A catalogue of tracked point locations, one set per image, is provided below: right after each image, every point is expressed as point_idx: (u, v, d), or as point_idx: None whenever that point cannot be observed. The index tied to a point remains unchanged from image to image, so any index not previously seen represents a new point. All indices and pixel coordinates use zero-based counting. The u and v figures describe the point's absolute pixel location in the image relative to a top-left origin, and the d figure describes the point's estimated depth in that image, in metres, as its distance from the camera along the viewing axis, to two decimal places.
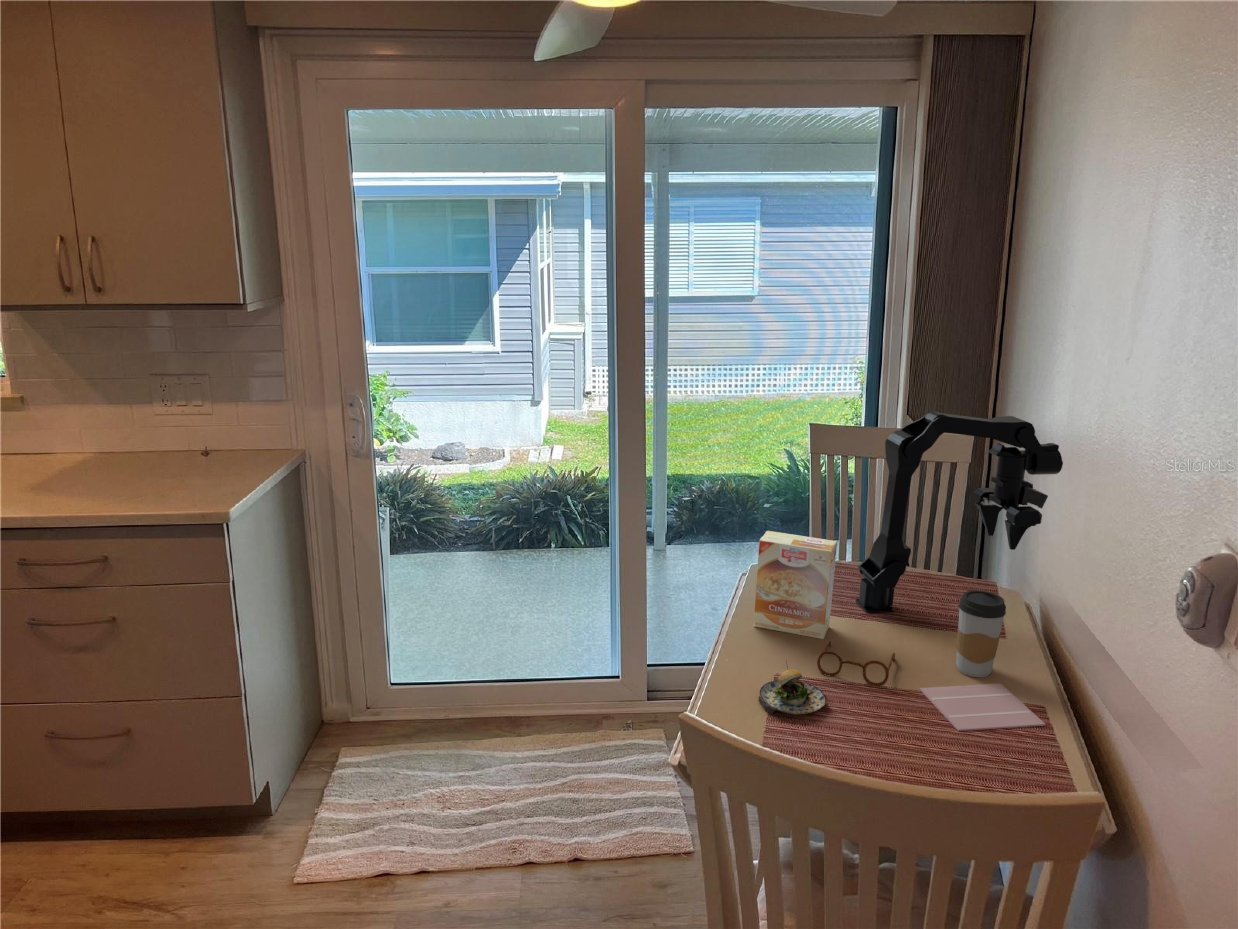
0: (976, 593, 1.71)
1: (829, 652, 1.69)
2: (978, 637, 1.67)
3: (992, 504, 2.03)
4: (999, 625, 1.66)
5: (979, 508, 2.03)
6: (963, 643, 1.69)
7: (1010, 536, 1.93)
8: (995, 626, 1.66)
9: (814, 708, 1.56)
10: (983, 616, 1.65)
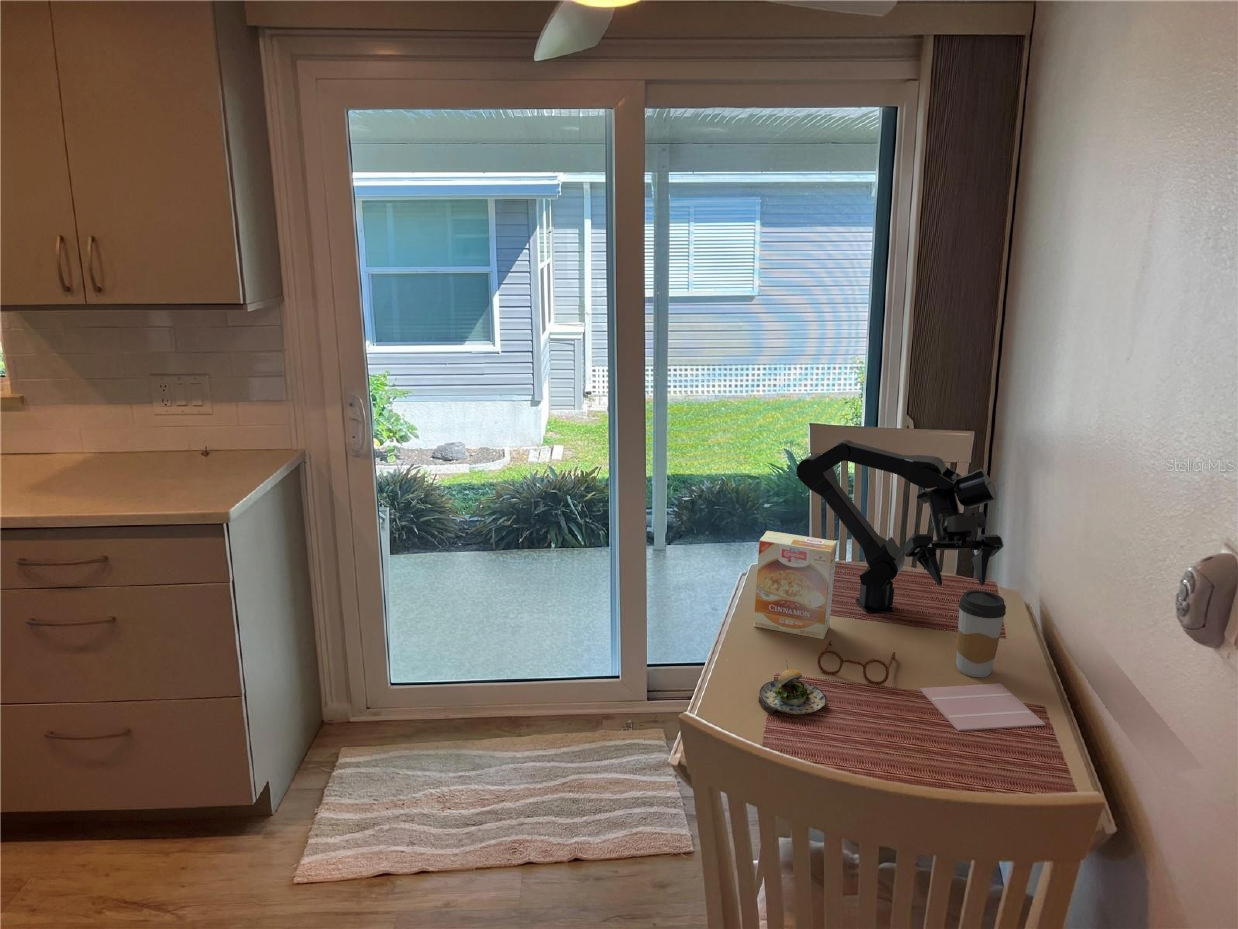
0: (976, 593, 1.71)
1: (829, 651, 1.69)
2: (978, 637, 1.67)
3: (978, 552, 1.82)
4: (999, 625, 1.66)
5: None
6: (963, 643, 1.69)
7: (928, 572, 1.81)
8: (995, 626, 1.66)
9: (814, 708, 1.56)
10: (983, 616, 1.65)
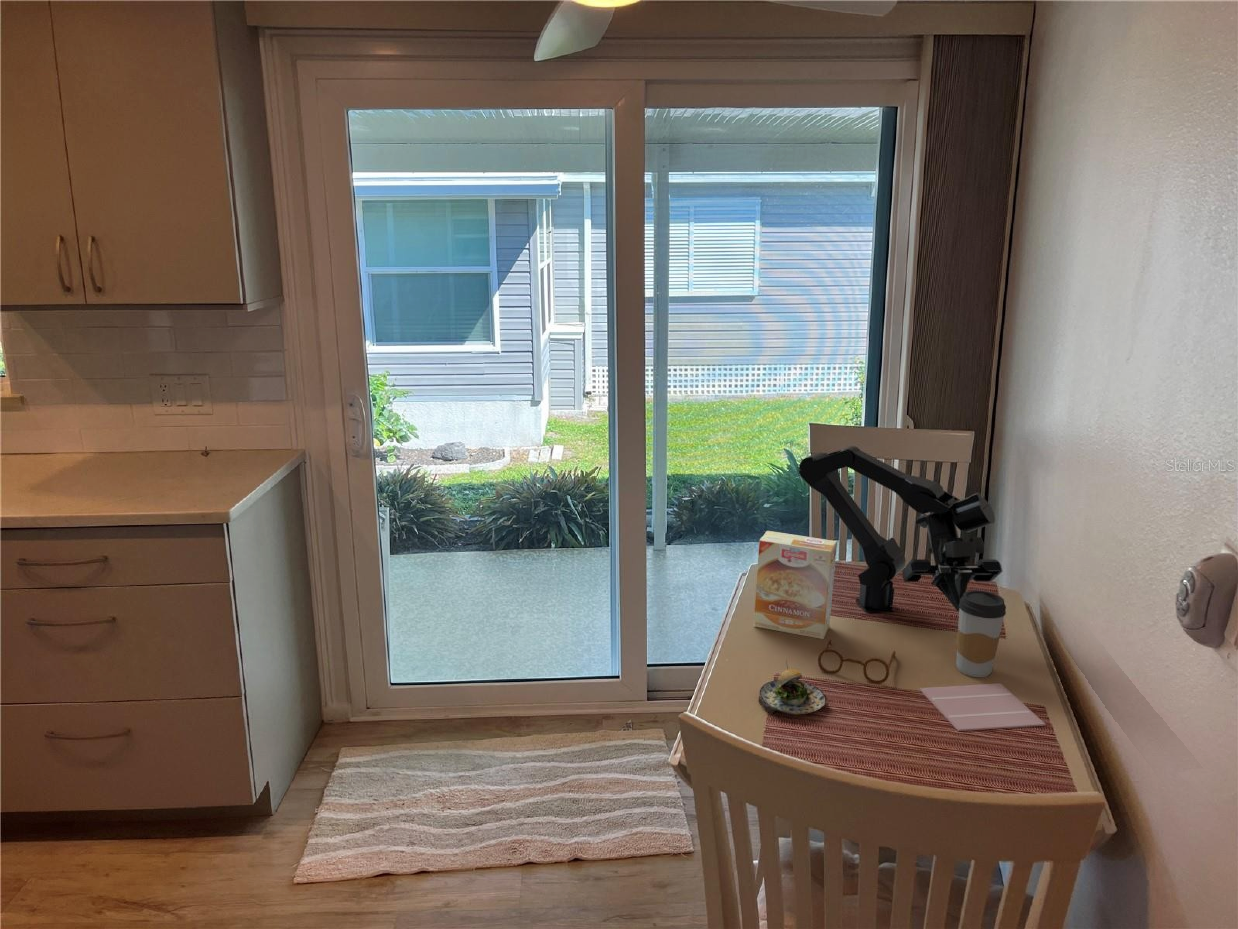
0: (976, 593, 1.71)
1: (830, 650, 1.69)
2: (978, 637, 1.67)
3: (957, 577, 1.82)
4: (999, 625, 1.66)
5: None
6: (963, 643, 1.69)
7: (947, 597, 1.81)
8: (995, 626, 1.66)
9: (814, 708, 1.56)
10: (983, 616, 1.65)
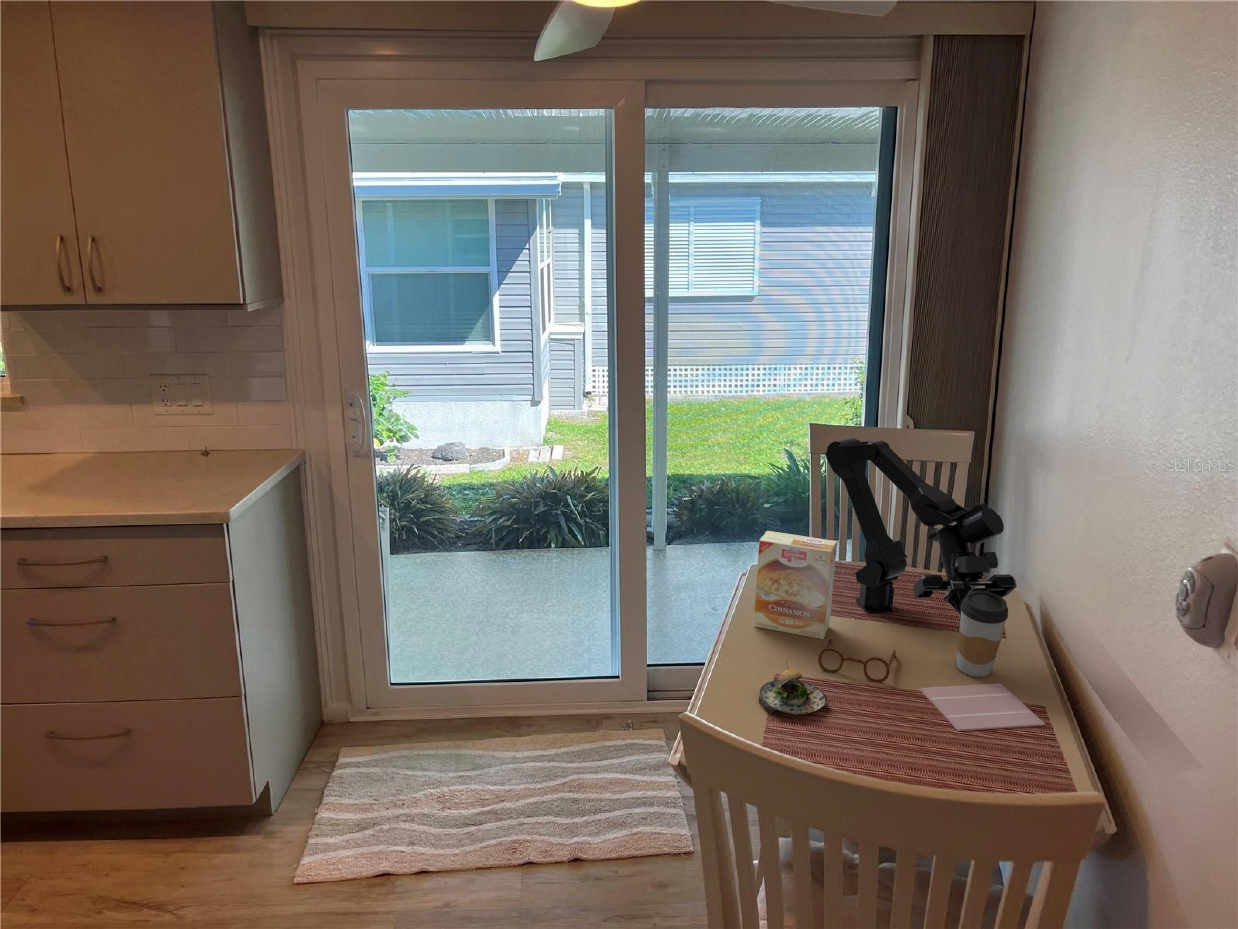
0: (978, 594, 1.69)
1: (830, 649, 1.70)
2: (979, 641, 1.66)
3: None
4: (1001, 629, 1.65)
5: None
6: (964, 644, 1.68)
7: (960, 613, 1.75)
8: (996, 630, 1.64)
9: (814, 708, 1.56)
10: (985, 621, 1.63)
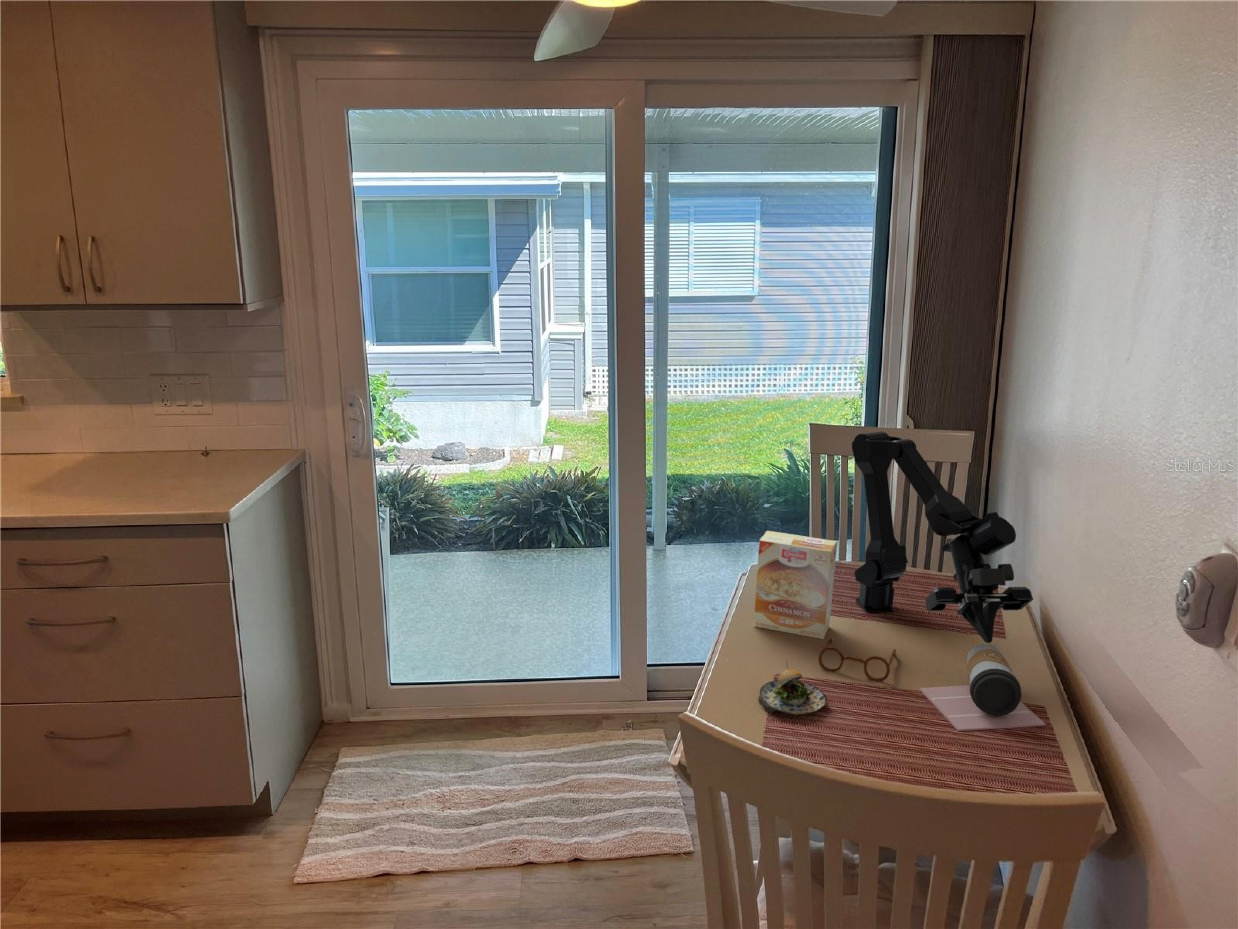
0: (995, 682, 1.53)
1: (830, 648, 1.70)
2: None
3: (985, 606, 1.70)
4: None
5: None
6: None
7: (974, 627, 1.69)
8: None
9: (814, 708, 1.56)
10: None
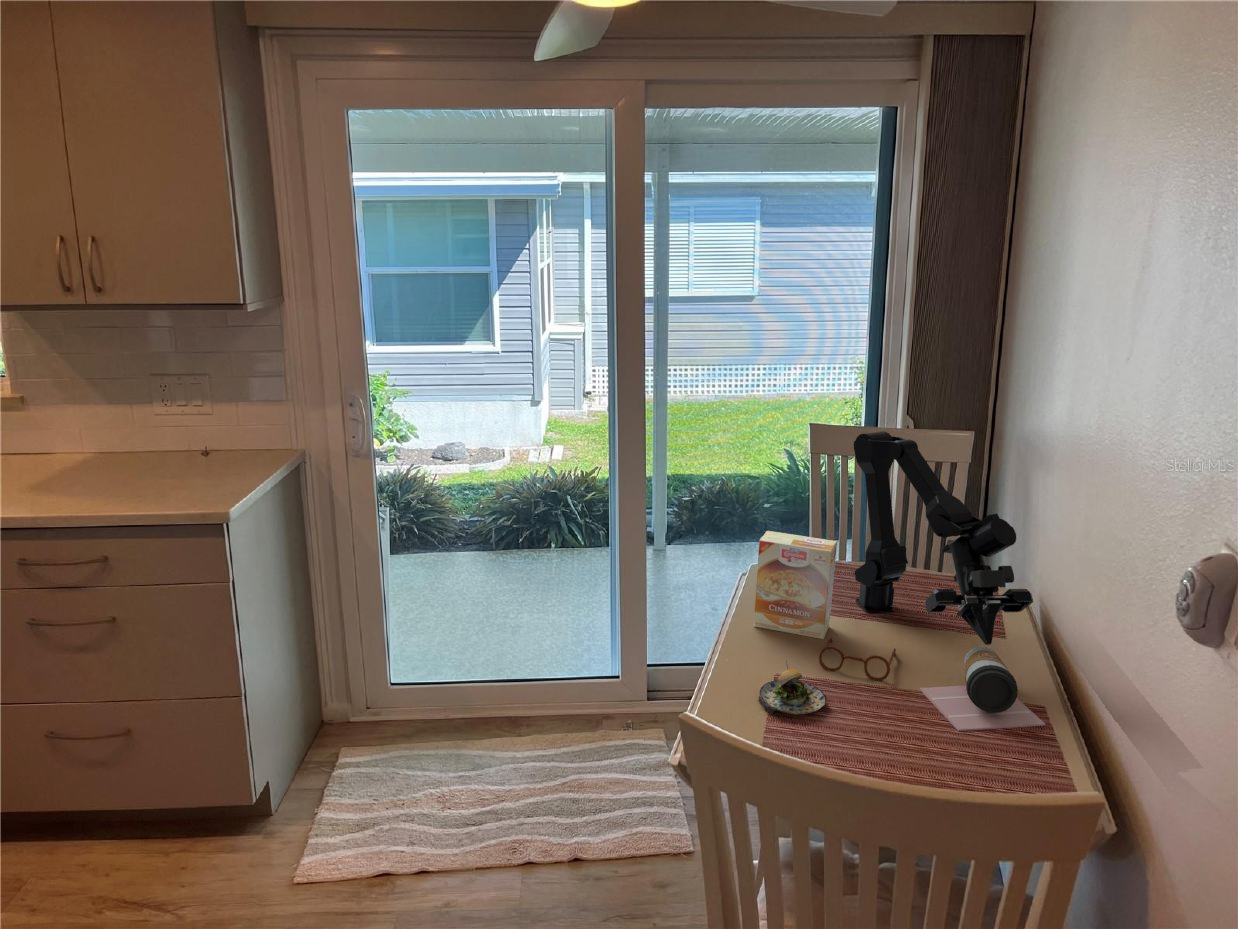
0: (989, 678, 1.54)
1: (831, 647, 1.70)
2: None
3: (985, 607, 1.70)
4: None
5: None
6: None
7: (974, 629, 1.69)
8: None
9: (814, 708, 1.56)
10: None
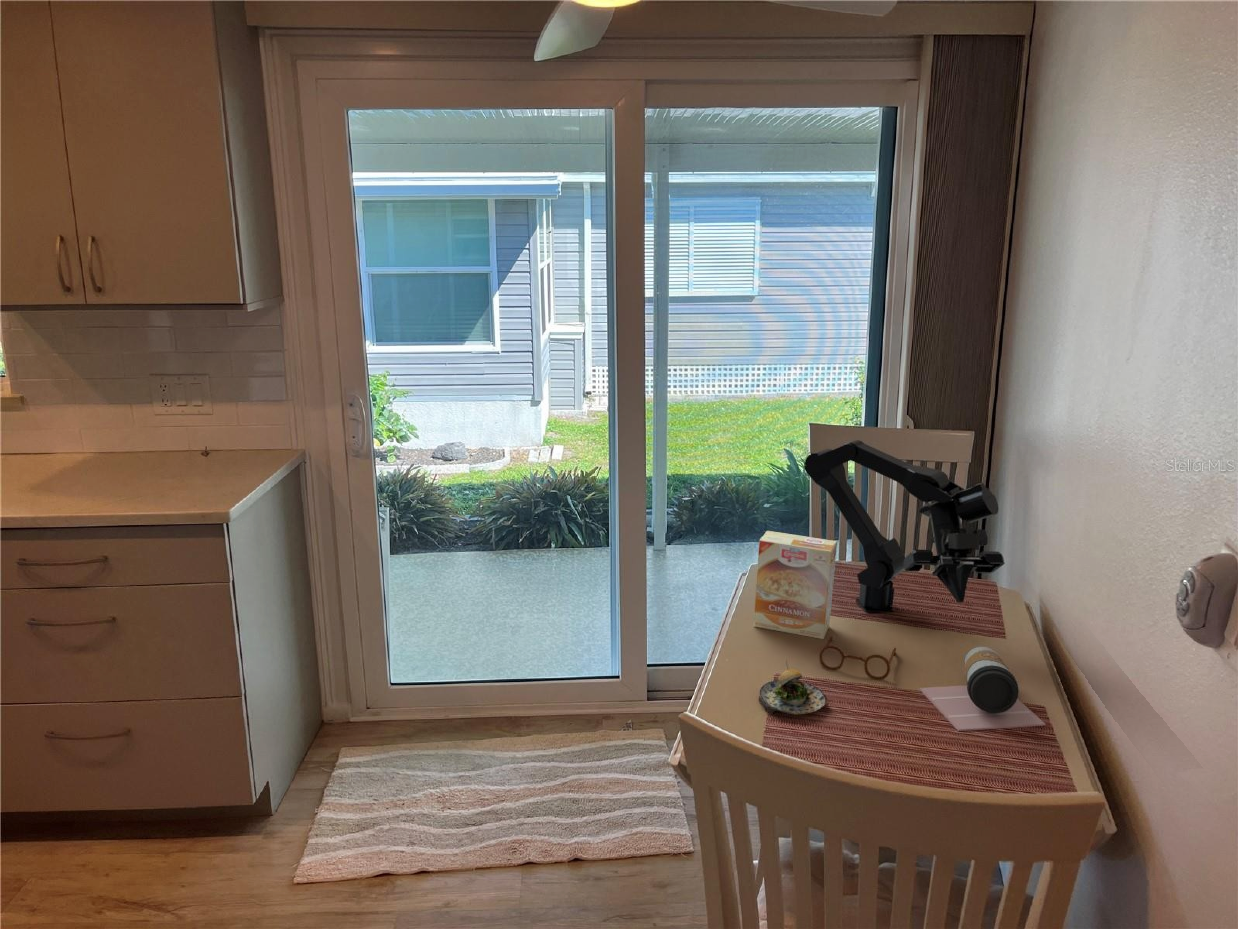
0: (990, 678, 1.54)
1: (831, 647, 1.71)
2: None
3: (959, 568, 1.80)
4: None
5: None
6: None
7: (947, 588, 1.80)
8: None
9: (814, 708, 1.56)
10: None
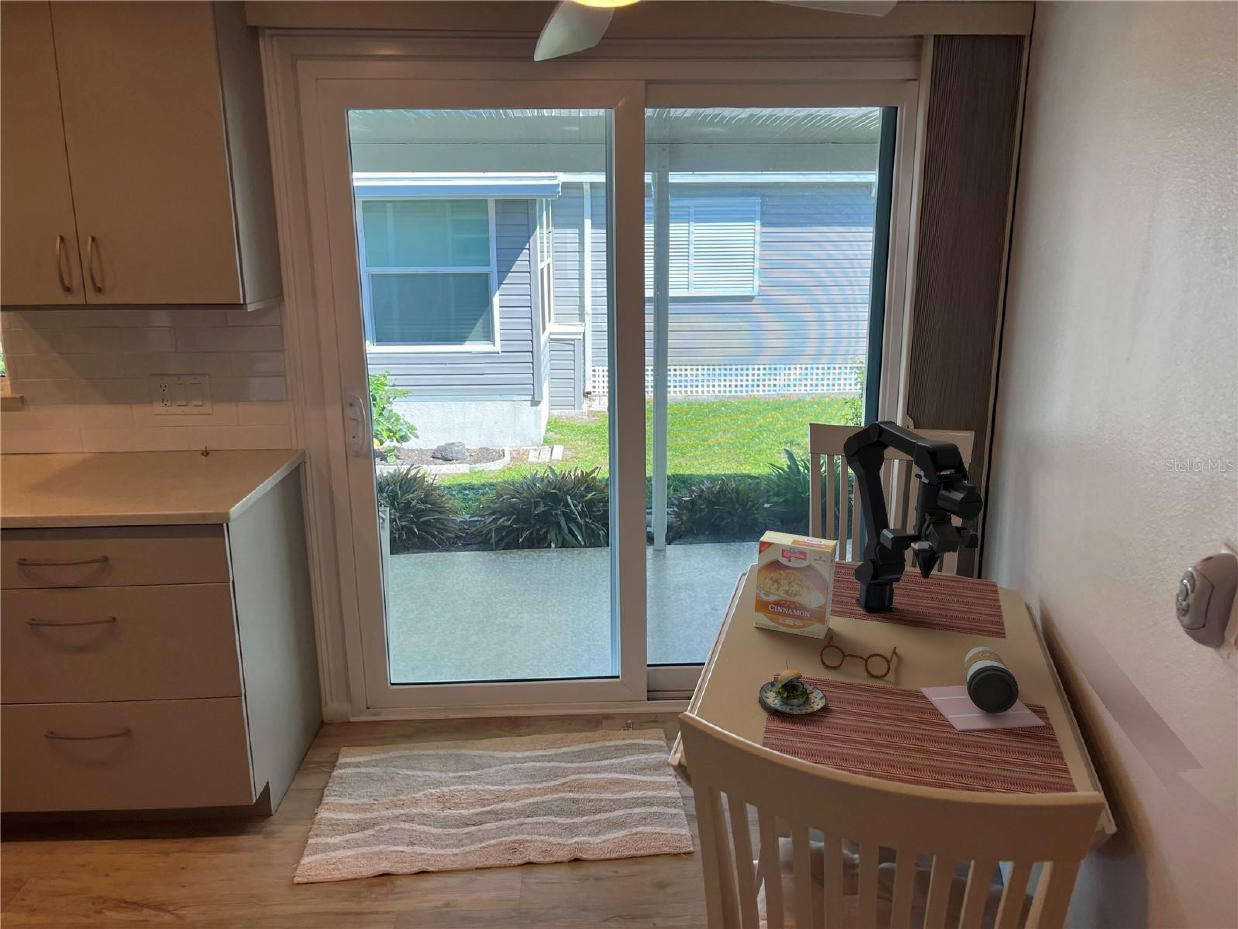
0: (990, 678, 1.54)
1: (832, 645, 1.71)
2: None
3: None
4: None
5: None
6: None
7: (917, 559, 1.83)
8: None
9: (814, 708, 1.56)
10: None
